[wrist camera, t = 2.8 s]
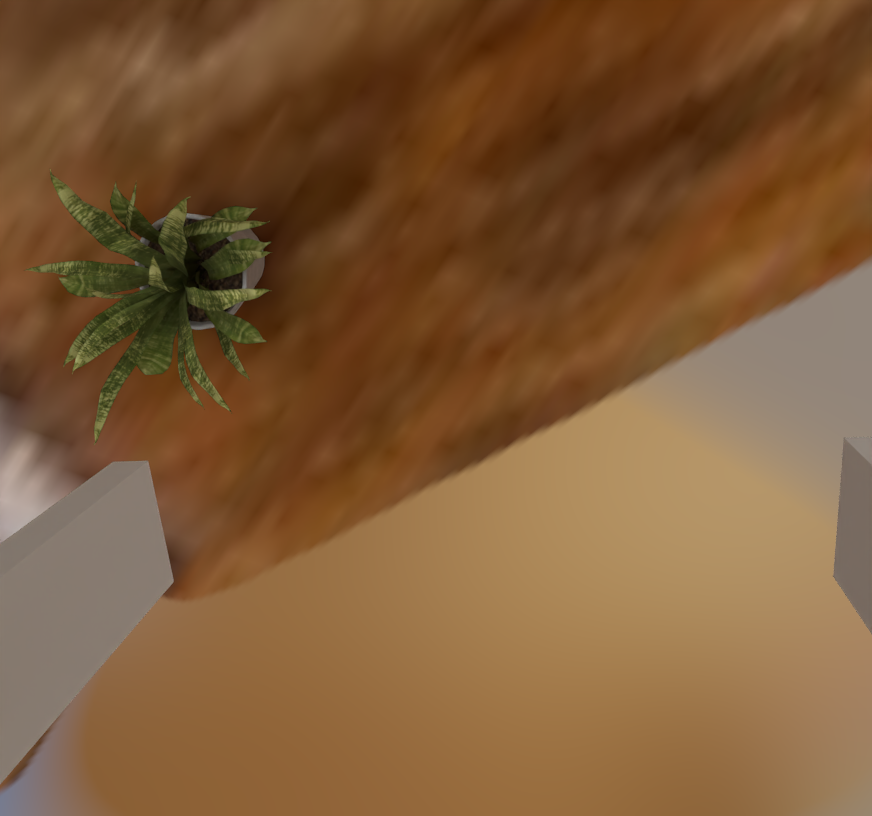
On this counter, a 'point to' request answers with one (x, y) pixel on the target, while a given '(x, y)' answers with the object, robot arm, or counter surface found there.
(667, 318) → the counter surface
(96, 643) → the robot arm
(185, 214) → the house plant
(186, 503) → the counter surface
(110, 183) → the counter surface
